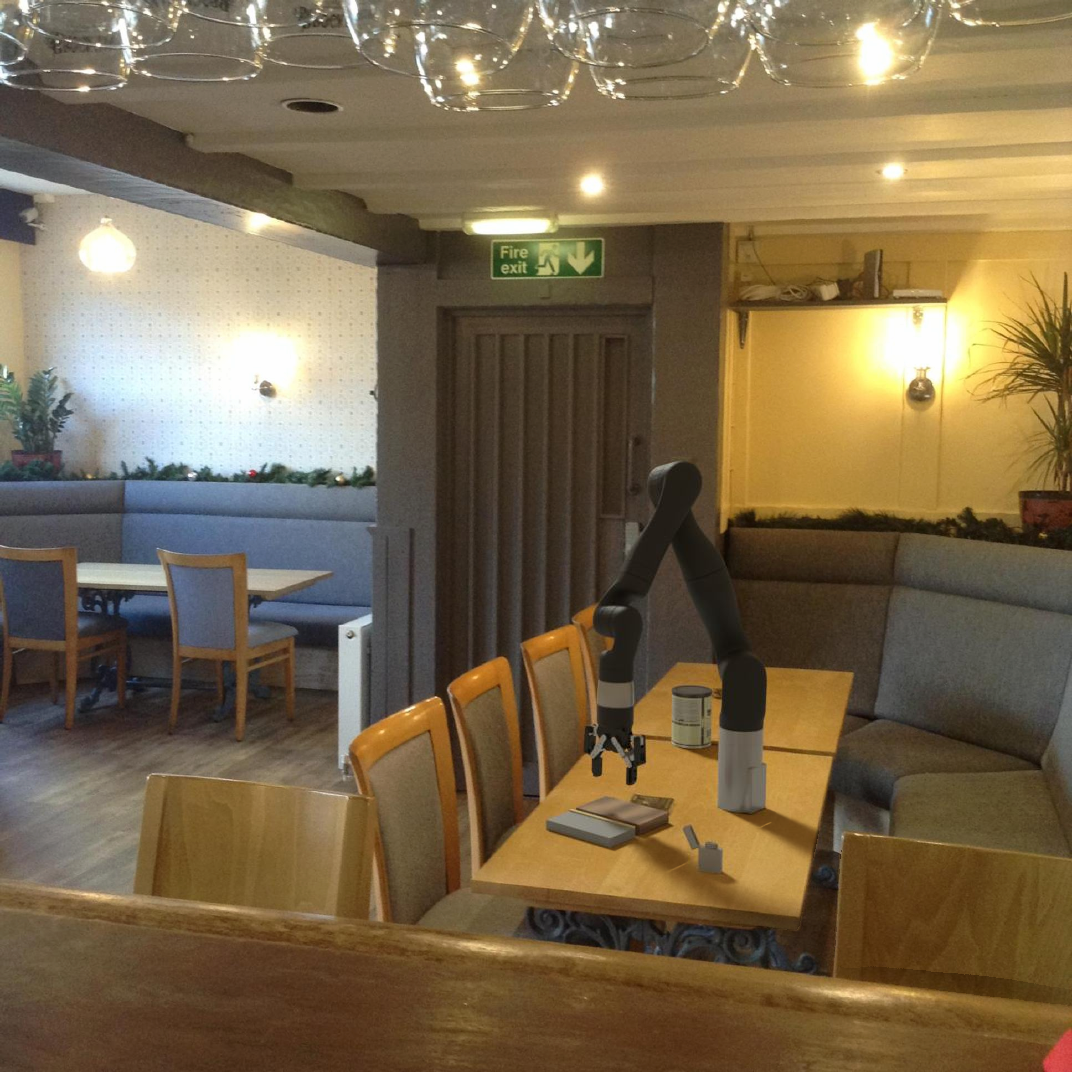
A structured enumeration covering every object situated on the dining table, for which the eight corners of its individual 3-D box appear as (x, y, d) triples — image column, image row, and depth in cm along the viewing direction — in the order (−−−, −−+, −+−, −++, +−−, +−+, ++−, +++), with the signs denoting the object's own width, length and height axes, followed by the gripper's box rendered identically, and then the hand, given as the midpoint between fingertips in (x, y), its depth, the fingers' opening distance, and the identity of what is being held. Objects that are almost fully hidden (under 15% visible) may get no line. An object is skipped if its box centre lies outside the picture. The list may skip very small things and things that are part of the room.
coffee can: (670, 737, 306) (671, 684, 305) (710, 739, 305) (711, 685, 304) (670, 748, 296) (671, 693, 295) (712, 749, 295) (713, 694, 294)
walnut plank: (668, 821, 239) (668, 812, 239) (639, 834, 231) (639, 825, 231) (605, 805, 249) (605, 795, 249) (576, 817, 242) (576, 807, 242)
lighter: (722, 870, 213) (723, 827, 213) (720, 874, 212) (721, 830, 211) (683, 865, 216) (684, 823, 215) (681, 868, 214) (682, 825, 213)
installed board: (635, 837, 230) (635, 826, 230) (610, 848, 224) (610, 836, 224) (571, 819, 241) (571, 808, 241) (546, 829, 235) (546, 818, 235)
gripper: (655, 704, 237) (653, 783, 238) (599, 693, 246) (597, 769, 247) (632, 710, 231) (630, 791, 232) (576, 699, 240) (575, 777, 242)
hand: (613, 780), depth 240 cm, fingers open, 8 cm apart
